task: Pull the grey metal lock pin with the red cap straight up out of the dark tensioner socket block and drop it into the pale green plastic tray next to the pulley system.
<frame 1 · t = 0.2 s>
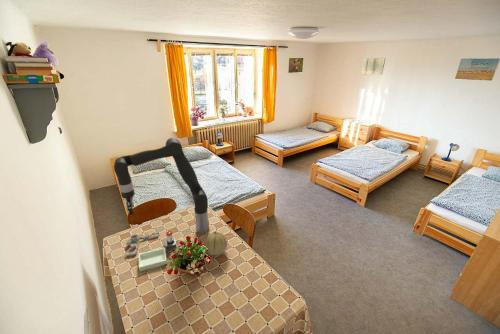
hand: (132, 210, 156), 29 cm above the table, fingers open, 8 cm apart
cantaloupe: (216, 252, 164), on the table
tensioner block: (170, 245, 168), on the table
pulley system: (139, 243, 170), on the table
lock pin: (170, 239, 166), in the tensioner block
tray: (153, 260, 155), on the table
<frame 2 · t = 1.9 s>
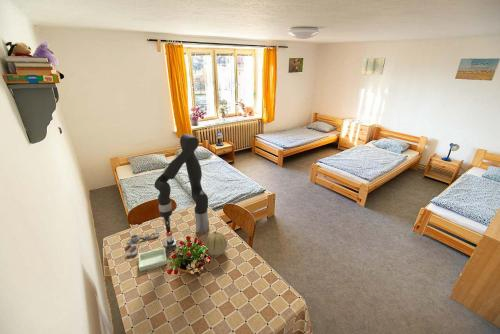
hand: (168, 228, 162), 15 cm above the table, fingers open, 8 cm apart
nothing on the table moved.
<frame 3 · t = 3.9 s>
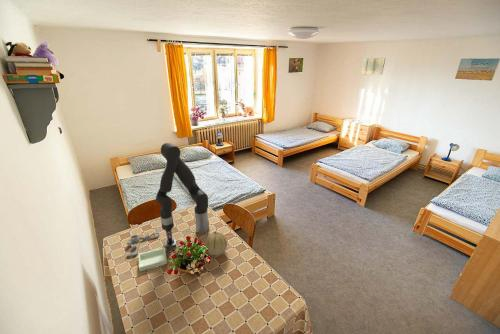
hand: (170, 241, 166), 4 cm above the table, fingers closed on lock pin, 3 cm apart
lock pin: (170, 239, 166), in the tensioner block, touching gripper
everything else where it was.
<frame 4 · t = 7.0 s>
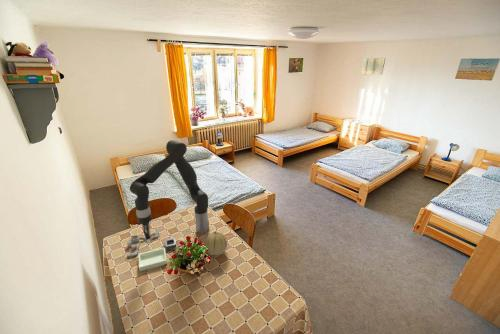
hand: (148, 236, 147), 20 cm above the table, fingers closed on lock pin, 3 cm apart
lock pin: (147, 234, 146), point 22 cm above the table, touching gripper
everything else where it was.
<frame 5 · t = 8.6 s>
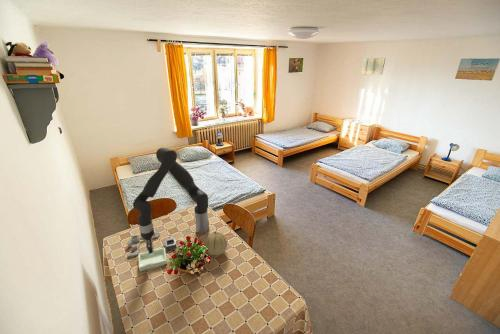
hand: (150, 250, 152), 9 cm above the table, fingers closed on lock pin, 3 cm apart
lock pin: (150, 248, 151), point 11 cm above the table, touching gripper
everything else where it was.
when the fingers open (6 cm above the table, at t = 9.9 s): lock pin drops 1 cm, resting on tray.
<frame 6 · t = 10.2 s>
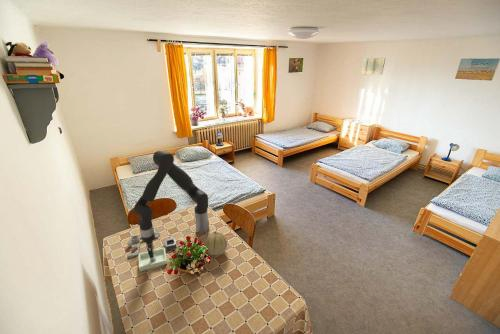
hand: (151, 253, 153), 6 cm above the table, fingers open, 6 cm apart
lock pin: (151, 253, 153), in the tray, point 6 cm above the table
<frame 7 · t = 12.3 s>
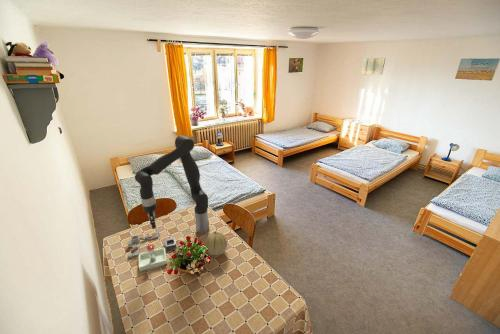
hand: (153, 223, 152), 24 cm above the table, fingers open, 8 cm apart
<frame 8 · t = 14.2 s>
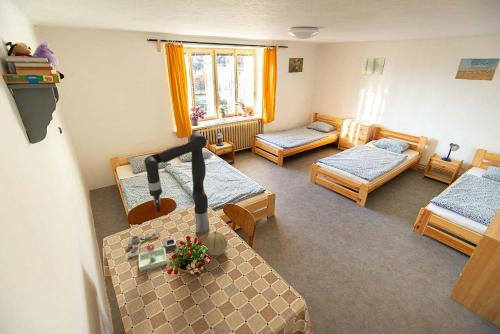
hand: (158, 208, 159), 28 cm above the table, fingers open, 8 cm apart
at the end: lock pin inside the target area on the tray (0.1 cm from its centre), point 6.1 cm above the tray's base; the gripper is holding nothing; lock pin moved 15.6 cm from its start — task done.
